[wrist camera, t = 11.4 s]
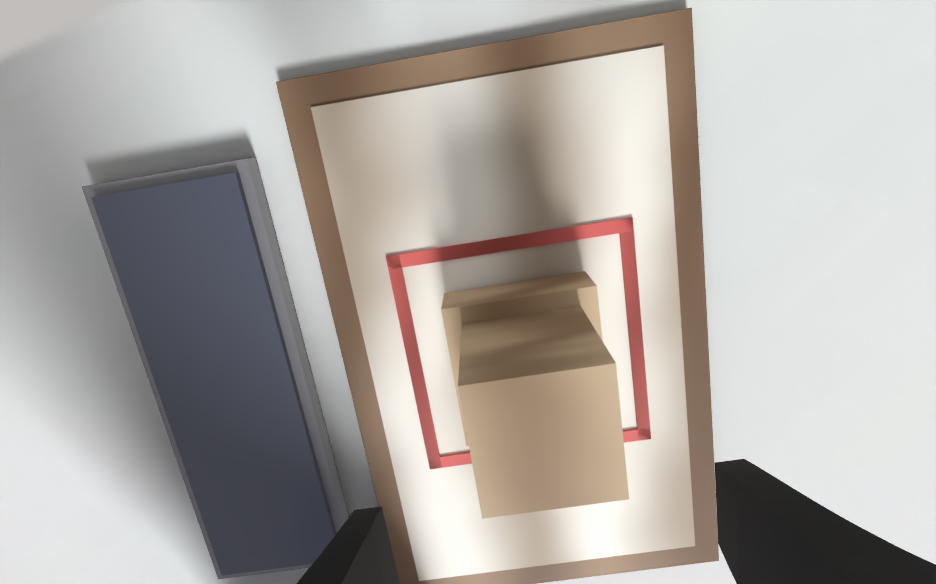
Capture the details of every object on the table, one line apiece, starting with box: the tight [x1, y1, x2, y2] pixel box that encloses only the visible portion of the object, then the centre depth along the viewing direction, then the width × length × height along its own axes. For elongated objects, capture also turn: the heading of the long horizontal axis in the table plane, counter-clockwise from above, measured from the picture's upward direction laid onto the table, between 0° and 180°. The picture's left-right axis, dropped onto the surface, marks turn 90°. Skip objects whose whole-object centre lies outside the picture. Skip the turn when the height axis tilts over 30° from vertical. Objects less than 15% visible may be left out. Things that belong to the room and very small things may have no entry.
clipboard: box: [276, 8, 719, 584], centre depth 22 cm, size 14×22×1 cm, turn 9°
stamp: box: [441, 271, 629, 519], centre depth 18 cm, size 5×5×7 cm
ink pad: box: [82, 157, 349, 579], centre depth 22 cm, size 6×17×1 cm, turn 9°
